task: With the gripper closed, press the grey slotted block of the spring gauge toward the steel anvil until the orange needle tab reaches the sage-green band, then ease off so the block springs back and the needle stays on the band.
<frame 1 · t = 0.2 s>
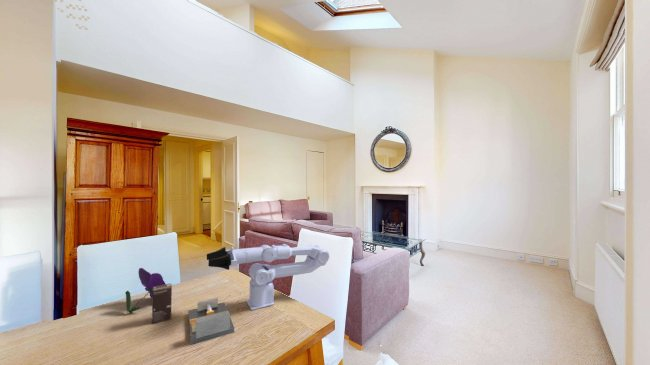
hand: (207, 259, 95), 21 cm above the table, tool horizontal, fingers open, 7 cm apart
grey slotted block: (208, 308, 94), point 4 cm above the table, slide at 0.0 cm
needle: (202, 317, 89), point 3 cm above the table, slide at 0.0 cm
box: (161, 319, 93), on the table
gauge: (209, 322, 91), on the table
flower: (145, 306, 102), on the table
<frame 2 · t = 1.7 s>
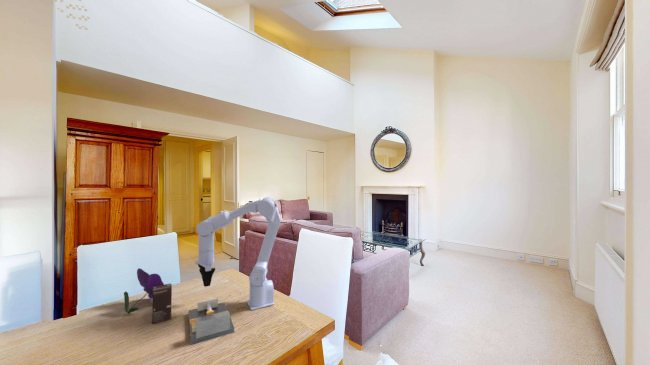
hand: (206, 283, 102), 9 cm above the table, tool pointing down, fingers open, 6 cm apart
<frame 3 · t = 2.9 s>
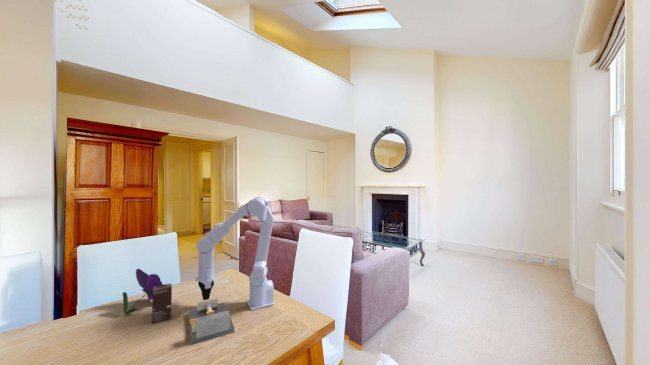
hand: (205, 299, 103), 3 cm above the table, tool pointing down, fingers closed
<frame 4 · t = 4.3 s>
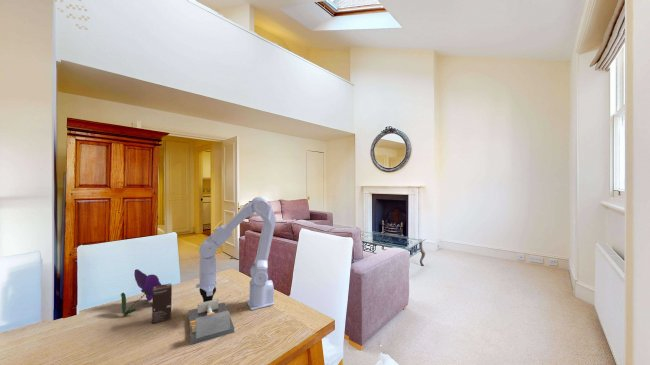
hand: (207, 306, 98), 2 cm above the table, tool pointing down, fingers closed
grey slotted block: (209, 310, 93), point 4 cm above the table, slide at 1.6 cm, touching gripper, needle
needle: (202, 318, 88), point 3 cm above the table, slide at 1.4 cm, touching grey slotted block
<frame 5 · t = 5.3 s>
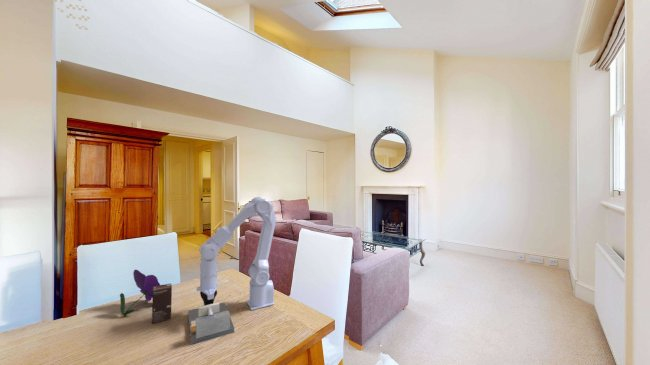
hand: (208, 310, 95), 2 cm above the table, tool pointing down, fingers closed
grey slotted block: (210, 313, 91), point 4 cm above the table, slide at 4.5 cm, touching gripper, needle
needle: (203, 323, 85), point 3 cm above the table, slide at 4.3 cm, touching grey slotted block
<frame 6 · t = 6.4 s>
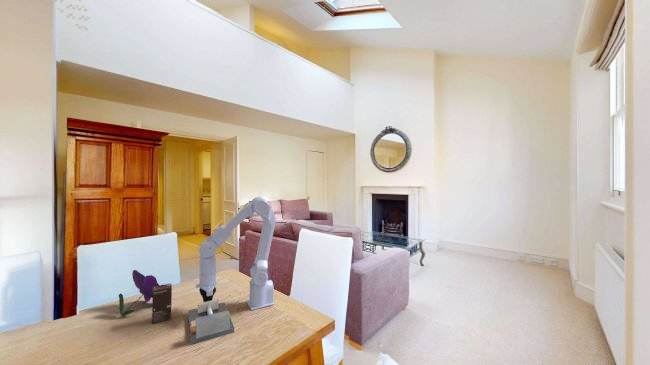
hand: (207, 306, 98), 2 cm above the table, tool pointing down, fingers closed
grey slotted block: (209, 310, 93), point 4 cm above the table, slide at 1.7 cm, touching gripper
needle: (203, 323, 85), point 3 cm above the table, slide at 4.3 cm
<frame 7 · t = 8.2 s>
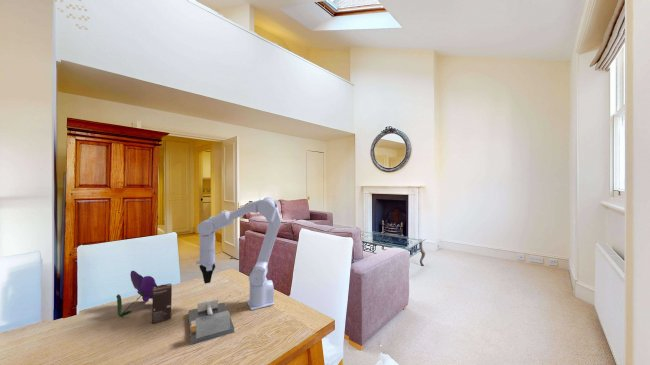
hand: (207, 282, 103), 9 cm above the table, tool pointing down, fingers closed
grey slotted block: (208, 308, 94), point 4 cm above the table, slide at 0.7 cm
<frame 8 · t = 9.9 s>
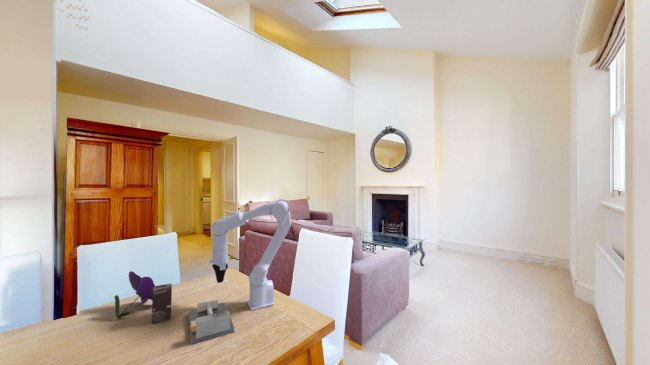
hand: (220, 281, 104), 9 cm above the table, tool pointing down, fingers closed
at the end: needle slide at 4.3 cm; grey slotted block slide at 0.7 cm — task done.
